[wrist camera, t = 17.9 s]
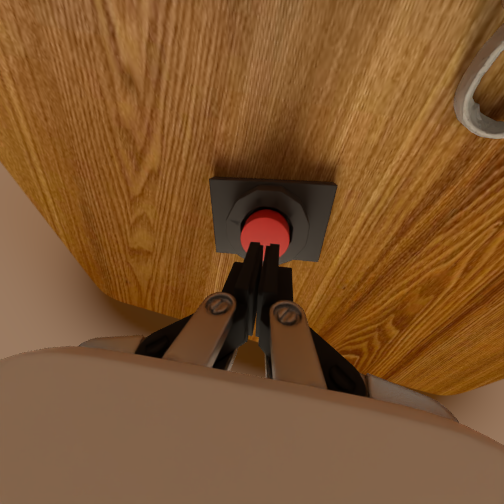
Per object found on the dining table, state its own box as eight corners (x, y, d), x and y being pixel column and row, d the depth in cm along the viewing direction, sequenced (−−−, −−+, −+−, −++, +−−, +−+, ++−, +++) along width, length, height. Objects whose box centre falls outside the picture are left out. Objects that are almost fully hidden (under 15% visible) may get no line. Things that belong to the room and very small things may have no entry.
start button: (244, 247, 16) (240, 258, 14) (244, 207, 14) (239, 215, 13) (286, 251, 16) (286, 263, 14) (292, 210, 14) (292, 219, 12)
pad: (219, 246, 19) (209, 262, 17) (213, 176, 16) (200, 183, 13) (316, 255, 18) (321, 274, 16) (334, 182, 15) (344, 190, 12)
